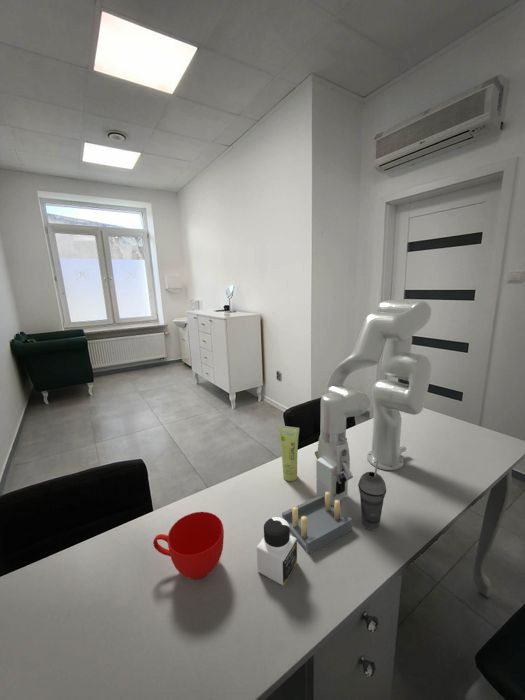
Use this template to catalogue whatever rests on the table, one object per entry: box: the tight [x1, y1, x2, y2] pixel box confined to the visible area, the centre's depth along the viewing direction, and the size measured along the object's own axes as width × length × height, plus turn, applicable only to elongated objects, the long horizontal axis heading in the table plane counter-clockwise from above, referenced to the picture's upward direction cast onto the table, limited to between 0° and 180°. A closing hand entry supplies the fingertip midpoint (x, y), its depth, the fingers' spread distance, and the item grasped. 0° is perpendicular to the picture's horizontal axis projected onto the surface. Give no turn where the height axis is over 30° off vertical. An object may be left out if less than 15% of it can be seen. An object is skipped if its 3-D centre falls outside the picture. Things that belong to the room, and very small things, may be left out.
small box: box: [315, 458, 349, 507], centre depth 94 cm, size 8×6×13 cm
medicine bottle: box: [256, 516, 298, 586], centre depth 71 cm, size 7×7×12 cm
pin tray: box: [281, 492, 353, 555], centre depth 83 cm, size 15×12×7 cm
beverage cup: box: [357, 461, 387, 531], centre depth 82 cm, size 7×7×20 cm
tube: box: [277, 424, 300, 482], centre depth 103 cm, size 6×5×20 cm
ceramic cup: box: [152, 511, 225, 580], centre depth 72 cm, size 13×17×10 cm
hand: (332, 485), depth 95 cm, fingers closed on small box, 6 cm apart
